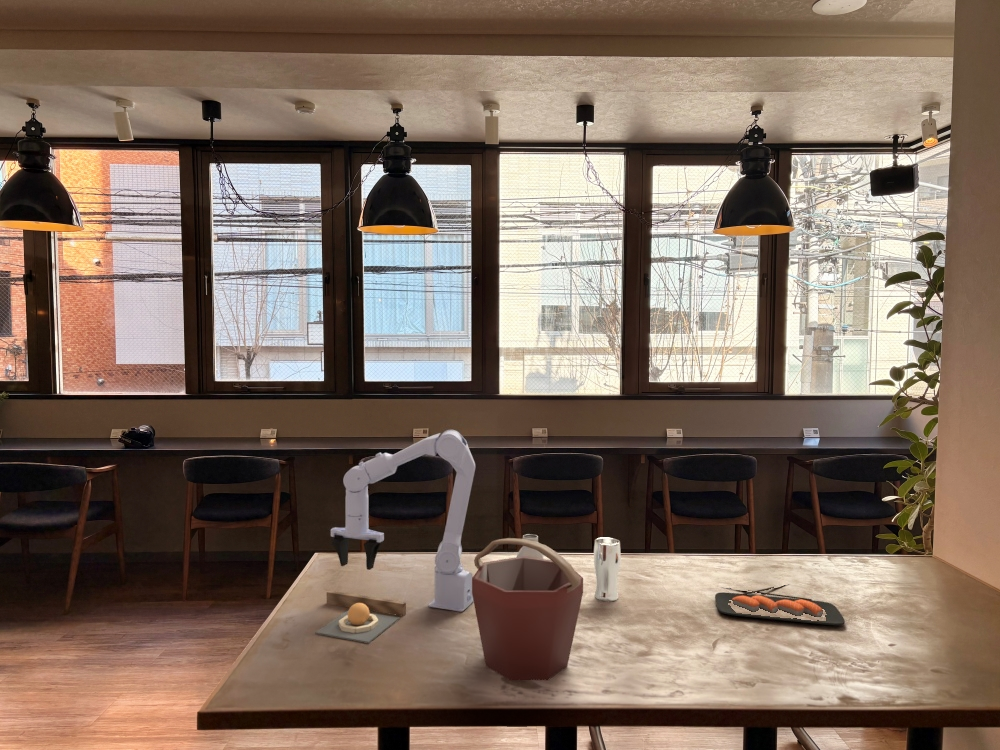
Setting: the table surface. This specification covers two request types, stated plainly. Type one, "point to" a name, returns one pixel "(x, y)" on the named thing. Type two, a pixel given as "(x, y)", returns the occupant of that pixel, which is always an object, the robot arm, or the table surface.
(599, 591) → the beer glass
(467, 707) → the table surface
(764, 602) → the sushi plate
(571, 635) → the bucket
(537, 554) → the plastic bottle
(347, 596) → the fence
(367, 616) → the ball
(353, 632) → the cradle
